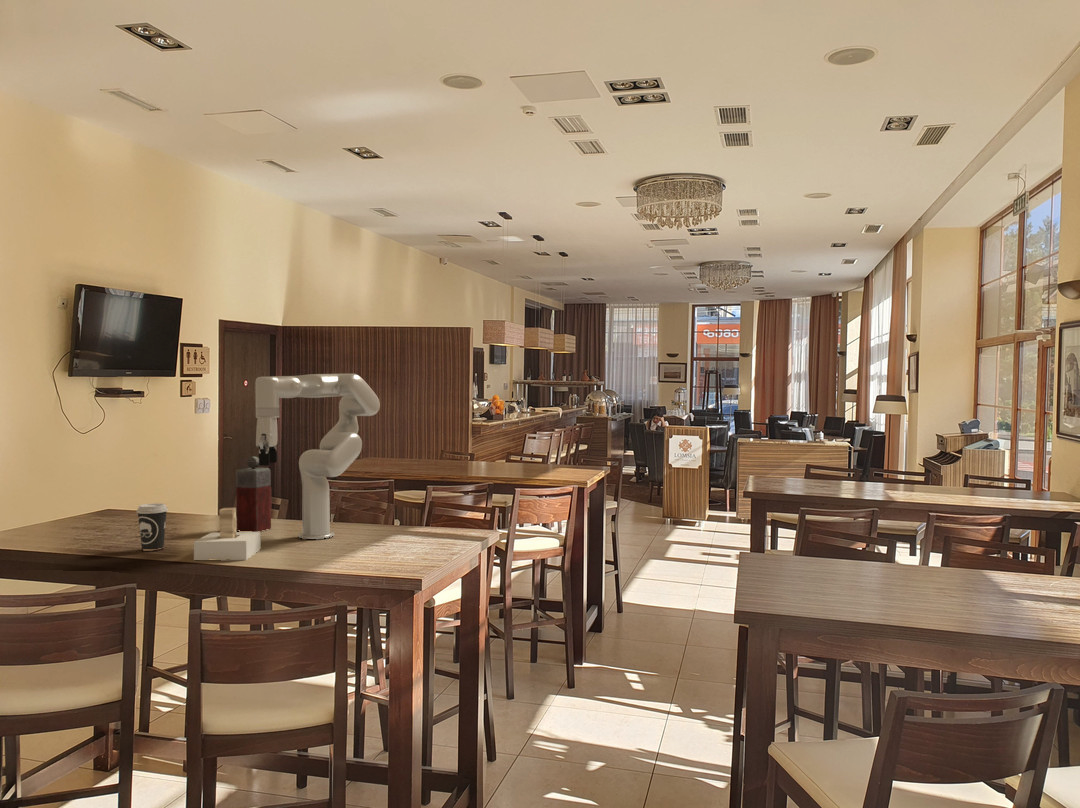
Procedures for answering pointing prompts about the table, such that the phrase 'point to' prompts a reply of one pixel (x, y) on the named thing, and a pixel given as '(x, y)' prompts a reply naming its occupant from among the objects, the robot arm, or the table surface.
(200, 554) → the block
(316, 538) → the robot arm
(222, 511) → the peg
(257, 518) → the red grey canister
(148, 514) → the coffee cup
